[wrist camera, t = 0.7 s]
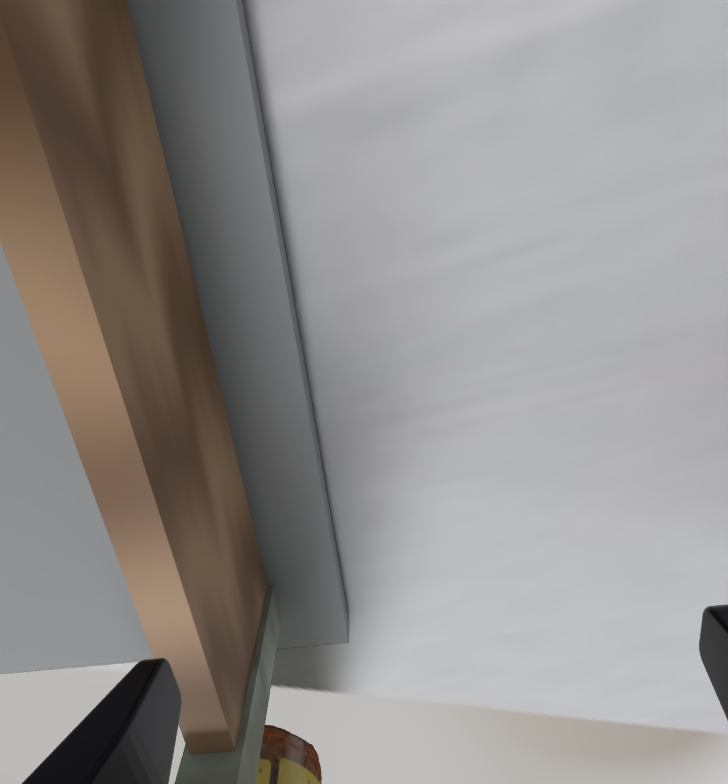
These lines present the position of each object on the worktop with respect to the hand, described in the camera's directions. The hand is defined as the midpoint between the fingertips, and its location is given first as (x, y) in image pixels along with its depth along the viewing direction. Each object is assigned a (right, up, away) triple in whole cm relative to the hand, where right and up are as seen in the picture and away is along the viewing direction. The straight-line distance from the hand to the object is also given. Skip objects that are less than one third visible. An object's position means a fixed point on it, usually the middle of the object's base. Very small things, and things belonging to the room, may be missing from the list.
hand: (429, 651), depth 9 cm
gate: (-6, +6, +8) cm, 11 cm away
